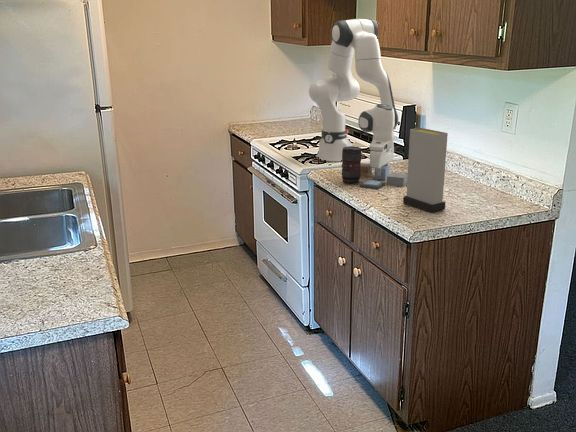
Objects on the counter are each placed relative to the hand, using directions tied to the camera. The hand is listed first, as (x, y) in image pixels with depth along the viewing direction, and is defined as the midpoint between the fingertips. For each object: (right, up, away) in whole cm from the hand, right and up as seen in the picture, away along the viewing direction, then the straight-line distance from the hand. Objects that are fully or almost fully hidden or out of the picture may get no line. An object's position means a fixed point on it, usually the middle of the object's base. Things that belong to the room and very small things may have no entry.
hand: (381, 174), depth 259 cm
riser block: (+5, -5, -8) cm, 11 cm away
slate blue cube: (0, -2, +1) cm, 2 cm away
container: (+9, -15, -39) cm, 43 cm away
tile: (-6, -6, -12) cm, 14 cm away
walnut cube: (-7, 0, +4) cm, 8 cm away
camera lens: (-14, -4, -6) cm, 16 cm away
